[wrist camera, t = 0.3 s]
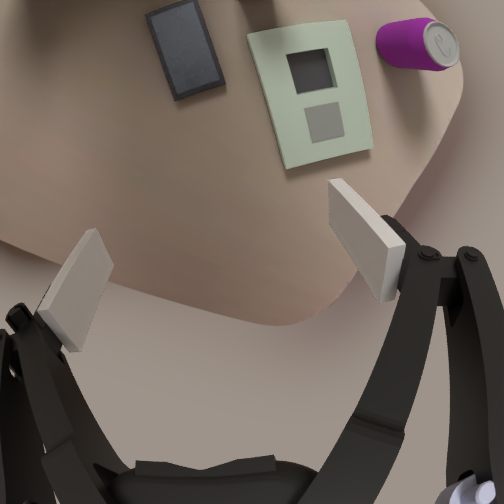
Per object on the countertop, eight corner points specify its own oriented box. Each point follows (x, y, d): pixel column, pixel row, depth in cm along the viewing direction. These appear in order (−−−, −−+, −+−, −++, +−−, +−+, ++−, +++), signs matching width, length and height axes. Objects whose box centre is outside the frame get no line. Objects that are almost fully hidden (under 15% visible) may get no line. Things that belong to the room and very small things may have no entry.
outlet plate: (245, 36, 30) (247, 33, 28) (341, 22, 29) (347, 19, 27) (283, 165, 41) (286, 169, 39) (367, 144, 40) (374, 148, 38)
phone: (146, 16, 26) (144, 14, 25) (196, -2, 26) (195, -4, 25) (176, 100, 34) (175, 101, 33) (225, 83, 34) (225, 83, 32)
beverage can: (363, 40, 30) (410, 33, 21) (391, 15, 28) (439, 6, 18) (395, 76, 34) (444, 83, 24) (420, 51, 31) (471, 54, 21)
